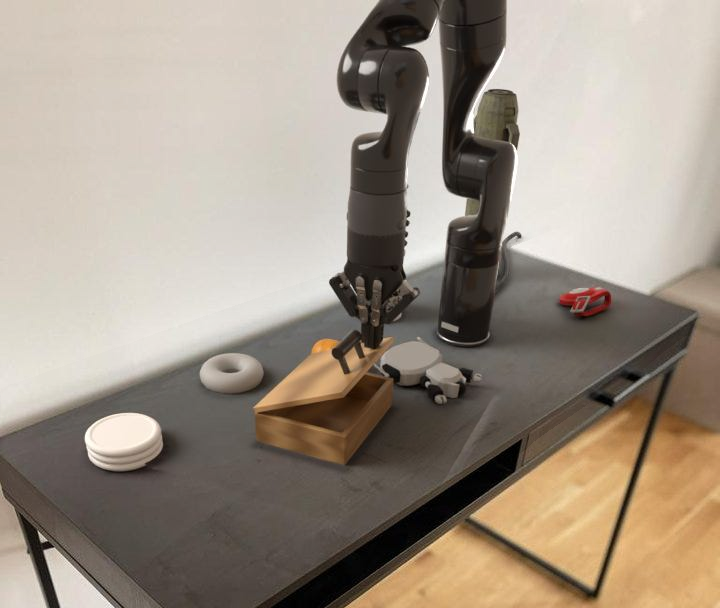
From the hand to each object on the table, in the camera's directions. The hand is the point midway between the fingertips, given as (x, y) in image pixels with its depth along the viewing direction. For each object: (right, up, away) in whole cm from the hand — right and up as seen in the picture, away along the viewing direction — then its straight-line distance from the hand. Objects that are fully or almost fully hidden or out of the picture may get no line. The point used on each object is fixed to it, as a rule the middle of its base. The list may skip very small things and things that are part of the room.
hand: (371, 346), depth 107 cm
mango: (-6, -1, +18) cm, 19 cm away
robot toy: (+9, -4, +15) cm, 18 cm away
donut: (-22, -4, +14) cm, 26 cm away
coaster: (-34, -15, -2) cm, 37 cm away
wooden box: (-7, -11, +4) cm, 13 cm away
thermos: (+23, +25, +54) cm, 64 cm away
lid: (-6, -4, -1) cm, 8 cm away
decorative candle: (+2, +12, +36) cm, 38 cm away
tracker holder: (+41, +14, +41) cm, 60 cm away
